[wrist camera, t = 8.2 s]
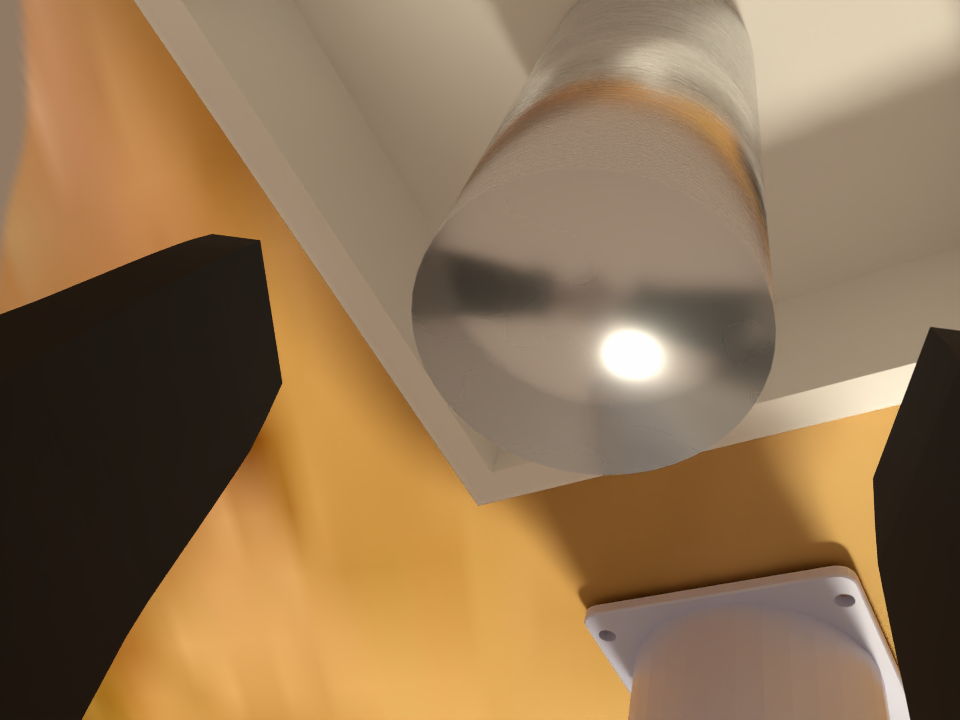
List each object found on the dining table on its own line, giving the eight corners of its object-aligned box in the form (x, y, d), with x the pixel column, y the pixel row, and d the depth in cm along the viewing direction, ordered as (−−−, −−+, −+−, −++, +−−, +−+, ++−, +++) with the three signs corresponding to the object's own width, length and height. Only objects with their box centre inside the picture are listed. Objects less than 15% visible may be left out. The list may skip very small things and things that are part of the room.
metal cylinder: (777, -19, 15) (821, 198, 8) (730, 191, 18) (731, 501, 10) (552, -40, 16) (409, 145, 9) (536, 166, 18) (412, 442, 11)
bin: (1066, 233, 17) (1140, 345, 14) (513, 399, 23) (477, 505, 20) (885, -538, 12) (939, -639, 9) (226, -71, 17) (114, -29, 14)
